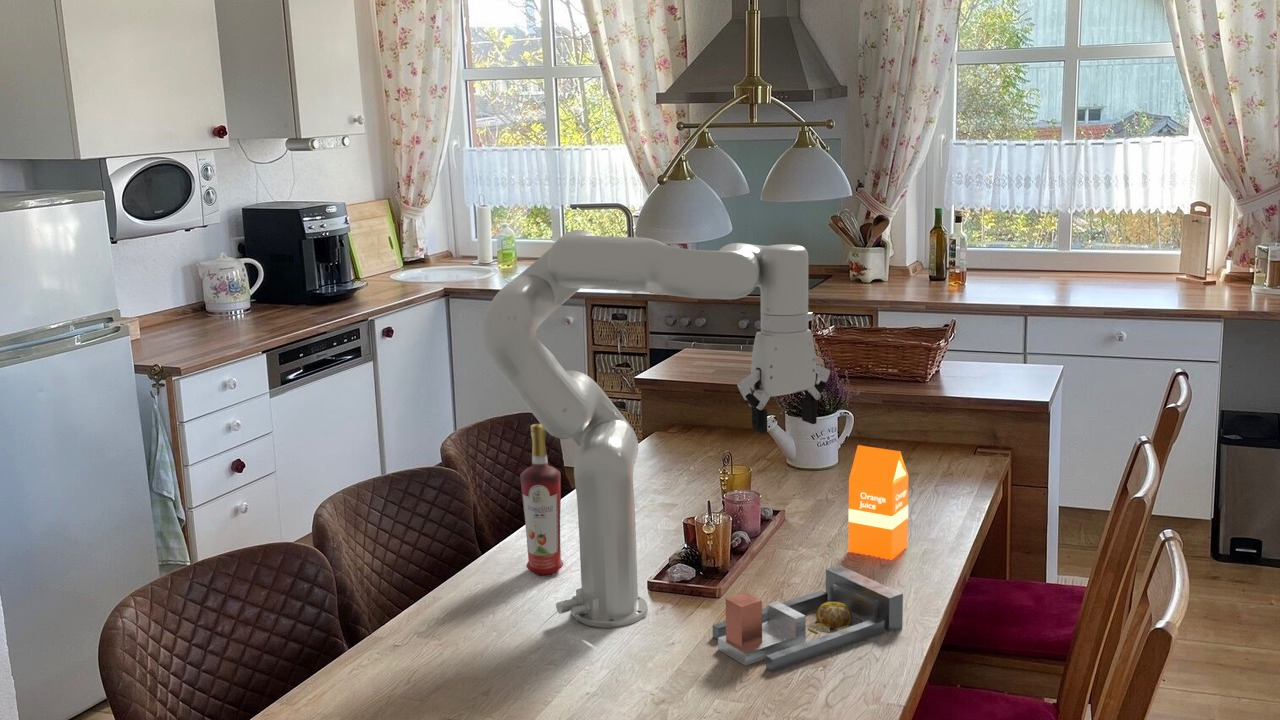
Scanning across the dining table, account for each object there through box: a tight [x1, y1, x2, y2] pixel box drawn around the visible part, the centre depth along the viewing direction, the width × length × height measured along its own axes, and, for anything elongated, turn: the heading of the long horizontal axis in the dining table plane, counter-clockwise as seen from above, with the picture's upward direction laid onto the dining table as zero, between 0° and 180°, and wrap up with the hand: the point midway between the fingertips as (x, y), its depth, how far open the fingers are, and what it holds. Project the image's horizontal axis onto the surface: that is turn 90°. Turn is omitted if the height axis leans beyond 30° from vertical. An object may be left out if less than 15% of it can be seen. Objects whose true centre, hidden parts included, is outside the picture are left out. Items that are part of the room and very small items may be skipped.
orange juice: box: [848, 444, 909, 561], centre depth 232 cm, size 8×9×20 cm
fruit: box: [807, 602, 853, 635], centre depth 202 cm, size 8×8×4 cm
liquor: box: [519, 423, 564, 577], centre depth 226 cm, size 7×7×28 cm
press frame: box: [712, 564, 904, 673], centre depth 199 cm, size 27×15×6 cm, turn 123°
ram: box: [717, 592, 807, 667], centre depth 194 cm, size 12×7×9 cm, turn 123°
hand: (784, 426), depth 200 cm, fingers open, 9 cm apart
